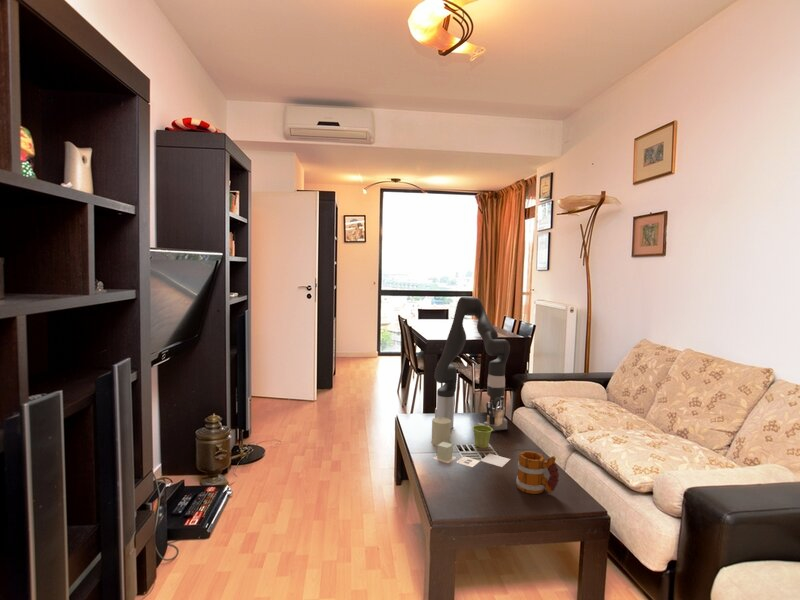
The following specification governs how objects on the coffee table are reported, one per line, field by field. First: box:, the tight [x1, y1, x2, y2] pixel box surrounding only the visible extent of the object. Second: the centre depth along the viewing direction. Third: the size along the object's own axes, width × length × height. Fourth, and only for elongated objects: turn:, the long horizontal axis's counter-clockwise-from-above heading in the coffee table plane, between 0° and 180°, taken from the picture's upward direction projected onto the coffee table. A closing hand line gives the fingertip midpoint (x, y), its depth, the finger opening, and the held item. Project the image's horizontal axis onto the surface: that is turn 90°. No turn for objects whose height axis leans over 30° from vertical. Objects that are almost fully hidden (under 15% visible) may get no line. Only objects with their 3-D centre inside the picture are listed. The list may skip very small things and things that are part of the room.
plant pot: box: [472, 424, 493, 449], centre depth 214 cm, size 9×9×9 cm
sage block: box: [436, 442, 454, 461], centre depth 198 cm, size 5×5×6 cm
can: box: [430, 417, 451, 447], centre depth 215 cm, size 9×9×12 cm
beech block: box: [486, 408, 503, 426], centre depth 196 cm, size 5×5×6 cm
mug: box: [515, 450, 560, 495], centre depth 172 cm, size 11×16×15 cm, turn 51°
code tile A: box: [455, 456, 481, 468], centre depth 195 cm, size 8×8×1 cm
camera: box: [476, 406, 508, 432], centre depth 237 cm, size 9×12×15 cm
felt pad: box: [480, 453, 511, 468], centre depth 198 cm, size 10×10×1 cm
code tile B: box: [432, 455, 457, 464], centre depth 198 cm, size 8×8×1 cm
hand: (494, 422), depth 196 cm, fingers closed on beech block, 5 cm apart
